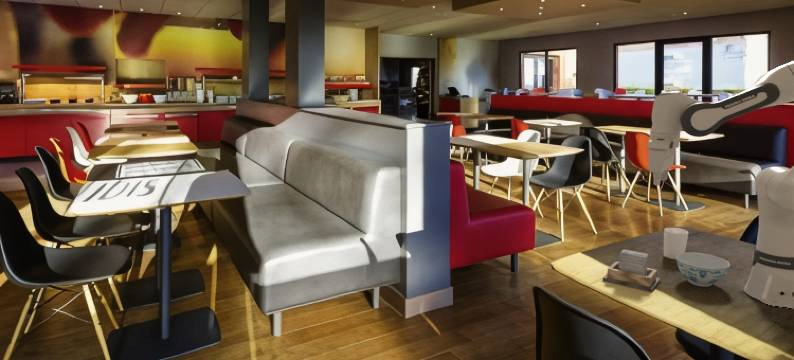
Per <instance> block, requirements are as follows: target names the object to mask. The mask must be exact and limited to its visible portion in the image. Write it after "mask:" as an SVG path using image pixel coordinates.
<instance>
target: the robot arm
mask: <svg viewBox="0 0 794 360" xmlns="http://www.w3.org/2000/svg"><path fill="white" fill-rule="evenodd" d="M791 102H794V60H792V61H790V62H788V63H784V64H783V65H780V66H778V67H776V68H773V69H771V70H769V71H767V72H765V73H764V74H762V75H761V76H760V77H758V78H757V80H756V82H754V83H753V85H752V86H750V87H749V88H748V89H745V90H743V91H741V92H738V93H736V94H735V95H732V96H729V97H727V98H724V99H722V100H719V101H716V102H709V103H708V102H707V103H706V102H702V101H700V100H697V99H694V98H692V97H690V96H688V95H686V94H685V93H684V92H682V91H680V90H675V91H674V90H671V91H666V92H665V91H664V92H662V93H659V94H657V96H656V97H655V98H654V101H653V104H652V111H651V122H652V123H651V128H650V132H649V140H647V144H646V145H647V146H646V147H647V149H649V150H648V158H647V159H648V165H647V167H648V171H649V173H652V177H653V182H652V183H653V185H654V186H659V185H661V181H667V179H668V174H669V171H670V168H671V167H673V165H674V164H675V155H676V154H675V153H676V149H677V148H679V147H680V140H681V139H680V138H681V133H682V132H681V131H682V130H683V132H685V133H686V134H687V135H689V136H692V137H695V138H697V137H698V138H702V137H707V136H709V135H711V134H713V133H714V132H715V131H716V130H718V128H720V127H721V126H722V125H723V124H725V123H726V122H728V121H730V120H733V119H735V118H738V117H741V116H743V115H746V114H748V113H752V112H753V111H756V110H759V109H764V108H768V107H769V108H770V107H774V106H779V105H784V104H788V103H791ZM675 148H676V149H675ZM754 186H755V189H756V190H755V191H756V192H757V193H756V194H757V209H758V210H757V211H758V230H757V231H758V232H757V239H756V246H754V248H753V252H752V258H751V264H752V265H751V266H752V267H751V270H750V274H749V277H748V280H747V281H746V284H745V286H744V288H743V292H744V293H745V294H747V295H748V296H749V297H752V298H754V299H756V300H758V301H760V302H762V303H763V304H764V303H765V304H764V305H766V304H768V305H767V306H770V305H772V306H771V307H775V306H779V307H778V308H782V307H787V308H786V309H788V308H793V309H792V310H794V165H793V166H792V167H791V168H789V167H786V166H769V167H766V168H764V169H761V170H760V171H759V172H758V173H757V175H756V176H755V179H754Z"/></svg>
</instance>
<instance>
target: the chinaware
mask: <svg viewBox="0 0 794 360" xmlns="http://www.w3.org/2000/svg"><path fill="white" fill-rule="evenodd" d="M675 261H676V264H677V268H678V270H679V271H680V273H681V274H682V275H683V277H685V278H686V279H687V281H688V282H689V284H691V285H694V286H697V287H702V288H703V287H705V288H706V287H711V286H712V285H713V284H714V283H717V282H719V281H720V280H722V279H723V278H724V277H725V276H726V274H727V273H728V271H729V269H730V266H731V264H730V262H729V261H728V260H726V259H724V258H722V257H719V256H717V255H712V254H709V253H703V252H702V253H701V252H685V253H681V254H678V255H677V256H676V259H675Z"/></svg>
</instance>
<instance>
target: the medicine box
mask: <svg viewBox="0 0 794 360" xmlns="http://www.w3.org/2000/svg"><path fill="white" fill-rule="evenodd" d="M618 258H619V259H618V262H619V269H618V270H621V271H626V272H631V273H635V274H640V275H645V276H647V268H648V262H649V261H648V260H649V254H648V253H646V252H639V251H634V250H629V249H622V250H621V251H620V252H619V257H618Z"/></svg>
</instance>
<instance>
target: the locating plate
mask: <svg viewBox="0 0 794 360" xmlns="http://www.w3.org/2000/svg"><path fill="white" fill-rule="evenodd" d="M618 269H619V261H614V262H613V263H612V264H611V265H610V266H609V267H608V268H607V273H606V274H605V275H604V276H603V277H602V282H607V283H612V284H616V285H621V286H625V287H628V288H634V289H636V290H637V289H638V290H641V291H646V292H651V293H653V291H654V290H655V288H656V287H657V286H658V285H659V283H660V282H661V277H657V275H658V274H657V272H658V269H656V268H655V269H653V268H649V267H647V276H645V275H640V274H635V273H631V272H626V271H621V270H618Z"/></svg>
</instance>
